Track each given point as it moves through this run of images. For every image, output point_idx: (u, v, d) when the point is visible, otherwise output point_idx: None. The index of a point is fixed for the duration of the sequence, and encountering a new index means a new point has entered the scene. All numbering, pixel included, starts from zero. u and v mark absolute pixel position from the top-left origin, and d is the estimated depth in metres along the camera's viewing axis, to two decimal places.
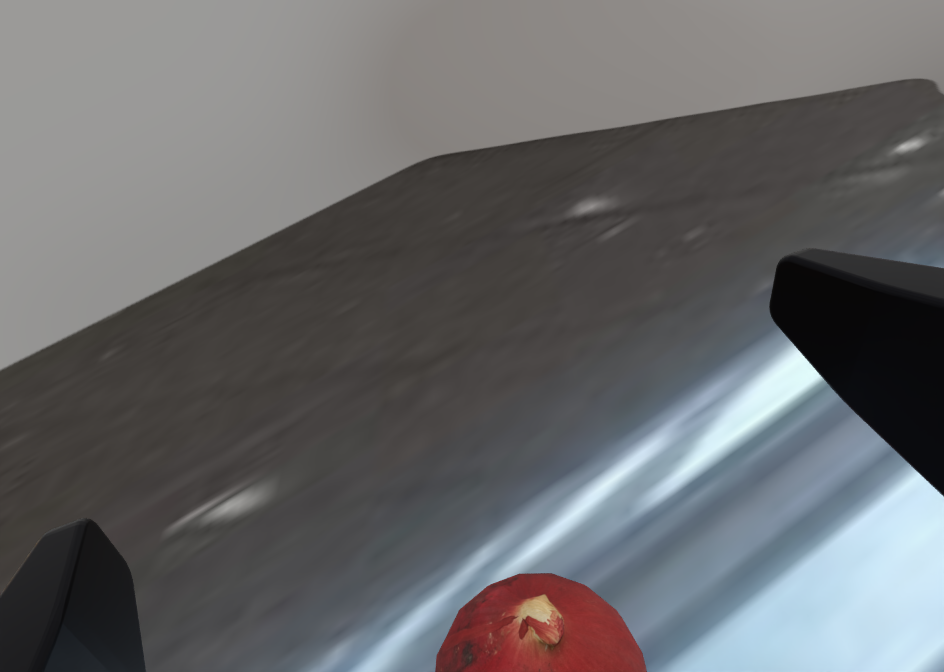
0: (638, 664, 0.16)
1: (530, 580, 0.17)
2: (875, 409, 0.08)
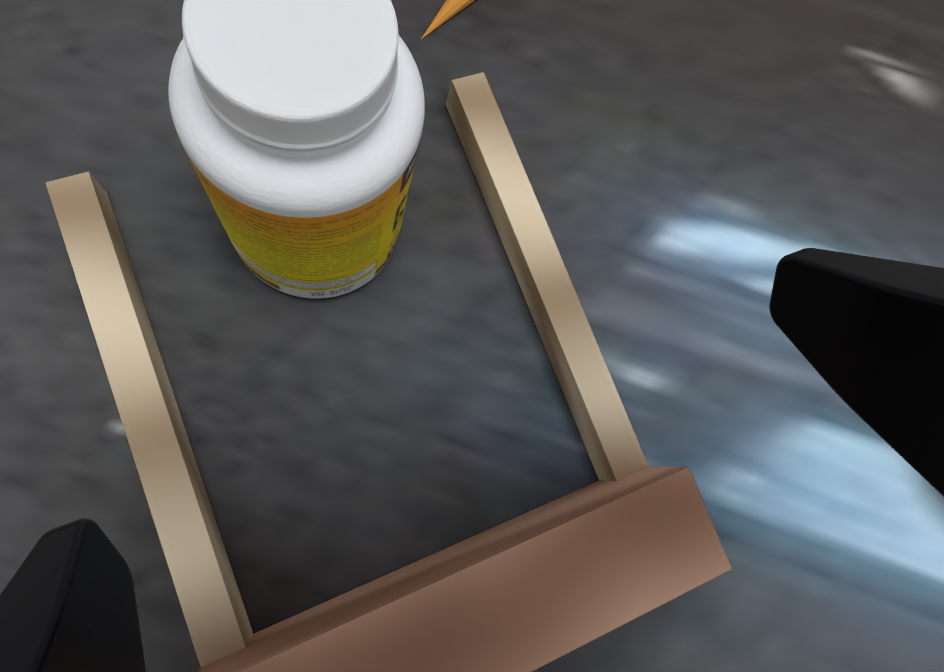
0: None
1: None
2: (875, 409, 0.08)
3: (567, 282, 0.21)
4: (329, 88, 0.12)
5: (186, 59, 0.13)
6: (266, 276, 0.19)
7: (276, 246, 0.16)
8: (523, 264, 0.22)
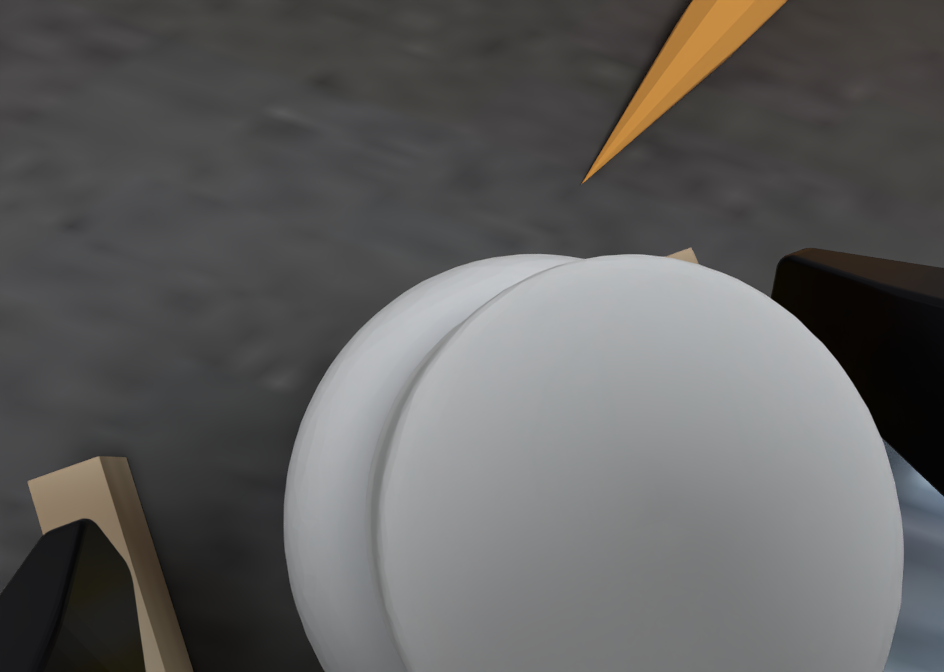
0: None
1: None
2: (875, 409, 0.08)
3: None
4: None
5: (330, 480, 0.06)
6: None
7: None
8: None
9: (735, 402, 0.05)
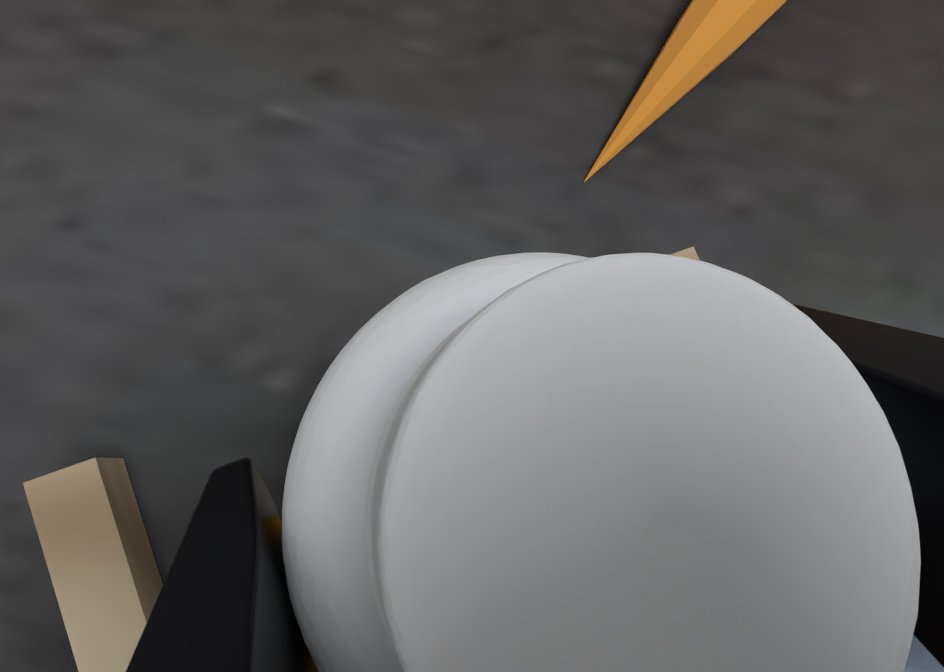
0: None
1: None
2: None
3: None
4: None
5: (329, 485, 0.06)
6: None
7: None
8: None
9: (746, 407, 0.05)
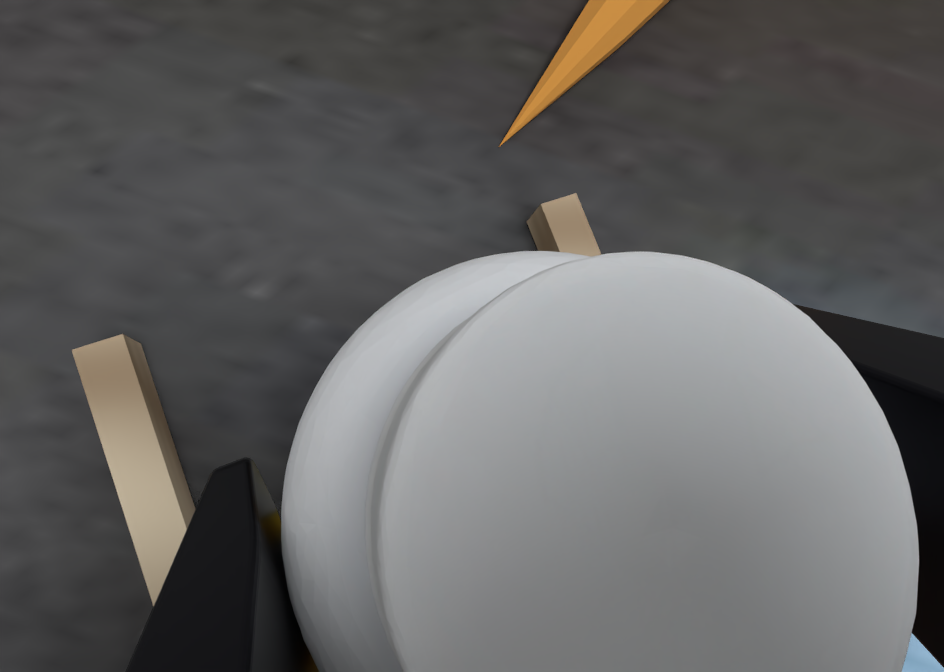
0: None
1: None
2: None
3: None
4: None
5: (328, 483, 0.06)
6: None
7: None
8: None
9: (746, 404, 0.05)
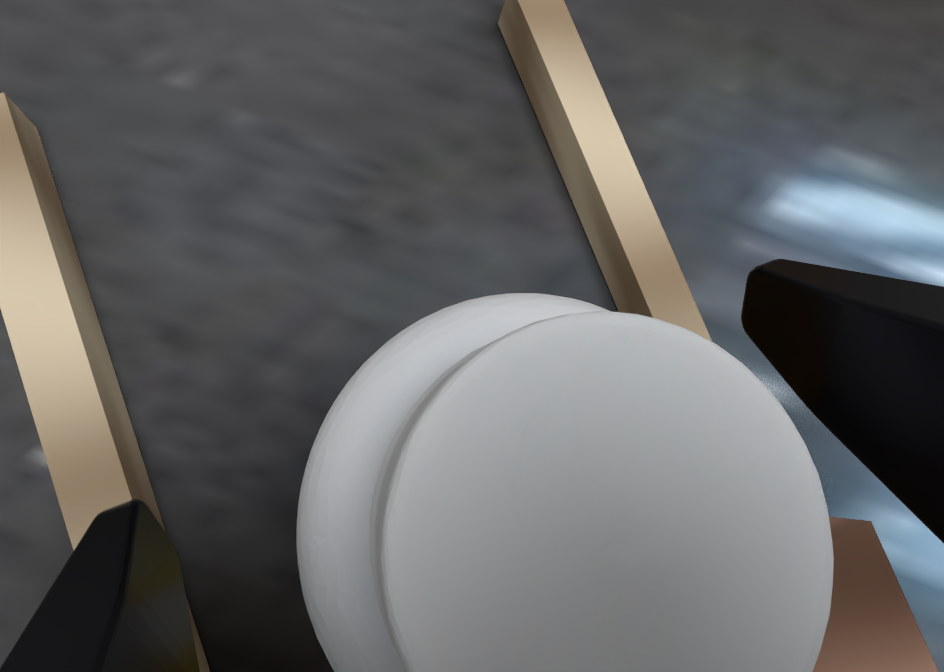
0: None
1: None
2: (844, 423, 0.08)
3: (670, 258, 0.16)
4: None
5: (338, 502, 0.07)
6: None
7: None
8: (609, 232, 0.16)
9: (687, 441, 0.05)
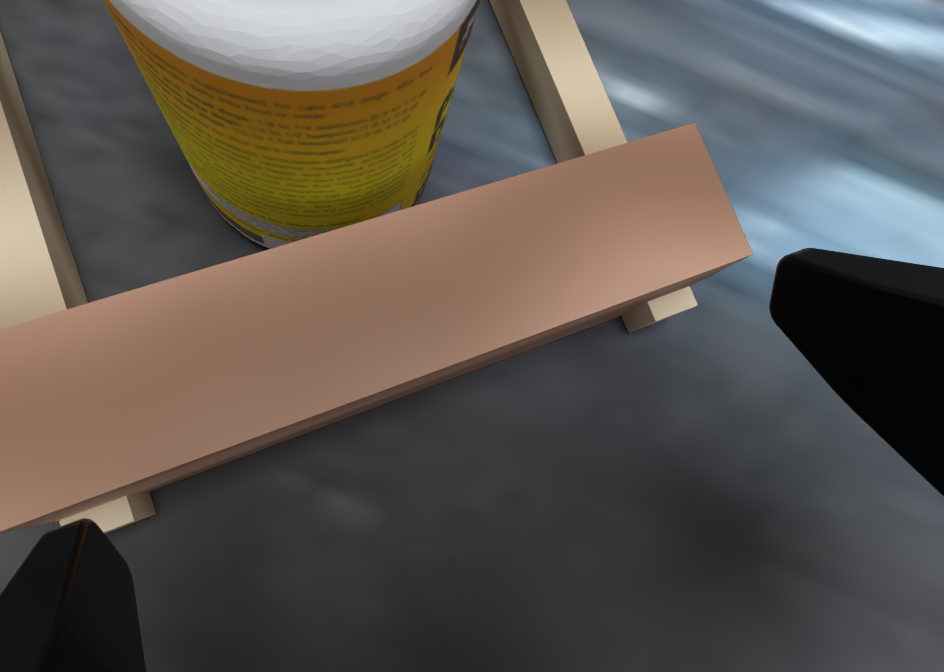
0: None
1: None
2: (875, 409, 0.08)
3: None
4: None
5: None
6: (243, 222, 0.13)
7: (253, 158, 0.10)
8: None
9: None
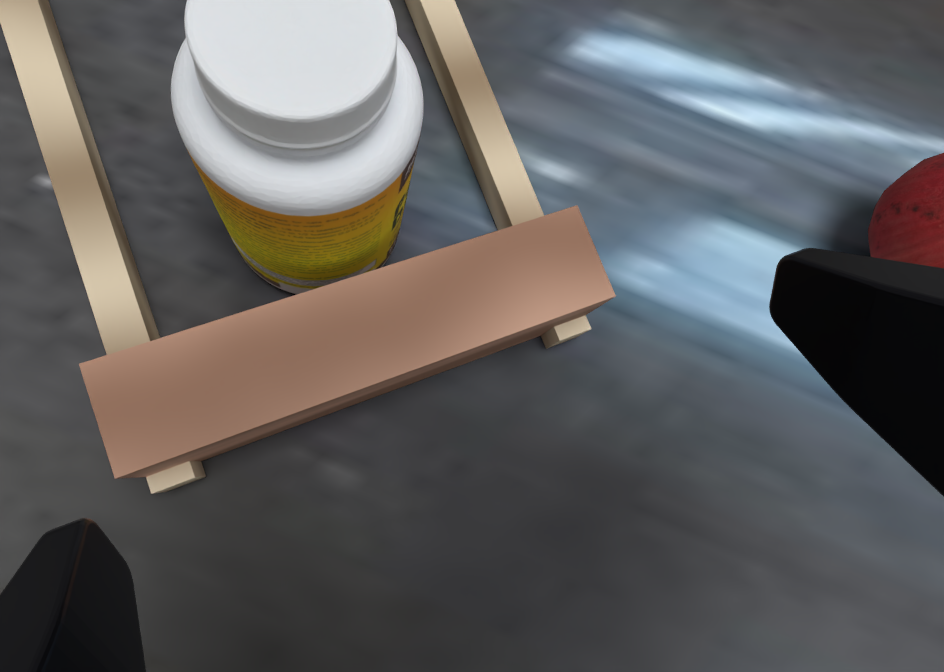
0: None
1: None
2: (875, 409, 0.08)
3: (477, 66, 0.23)
4: (330, 89, 0.12)
5: (188, 59, 0.14)
6: (267, 274, 0.20)
7: (277, 244, 0.16)
8: (437, 50, 0.23)
9: None
